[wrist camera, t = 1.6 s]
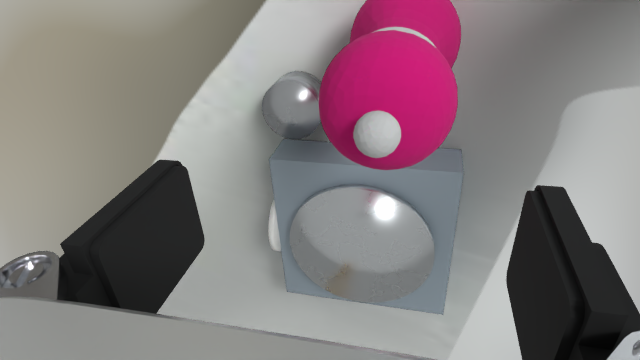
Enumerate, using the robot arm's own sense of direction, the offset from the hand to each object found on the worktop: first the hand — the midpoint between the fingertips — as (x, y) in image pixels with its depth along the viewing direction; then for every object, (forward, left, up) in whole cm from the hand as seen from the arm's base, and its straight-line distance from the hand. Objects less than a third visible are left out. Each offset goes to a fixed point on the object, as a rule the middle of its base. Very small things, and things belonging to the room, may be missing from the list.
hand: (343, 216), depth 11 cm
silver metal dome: (+9, +6, -24) cm, 26 cm away
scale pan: (+3, +18, -20) cm, 27 cm away
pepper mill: (0, 0, -24) cm, 24 cm away
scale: (+3, +18, -24) cm, 30 cm away
